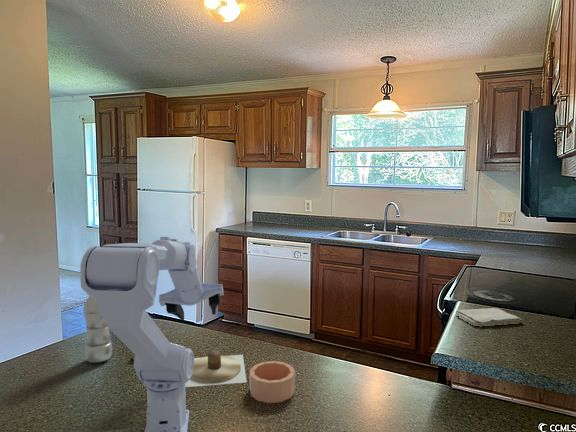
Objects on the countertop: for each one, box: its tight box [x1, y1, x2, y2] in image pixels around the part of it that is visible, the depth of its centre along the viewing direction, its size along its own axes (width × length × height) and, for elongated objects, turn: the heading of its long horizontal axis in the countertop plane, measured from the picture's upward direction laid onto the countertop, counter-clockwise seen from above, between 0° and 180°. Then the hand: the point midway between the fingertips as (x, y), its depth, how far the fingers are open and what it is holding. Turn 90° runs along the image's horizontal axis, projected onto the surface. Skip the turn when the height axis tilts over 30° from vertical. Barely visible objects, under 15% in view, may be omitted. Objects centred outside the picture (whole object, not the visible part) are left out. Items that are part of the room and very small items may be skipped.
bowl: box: [249, 360, 296, 404], centre depth 95 cm, size 10×10×5 cm
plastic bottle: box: [83, 295, 113, 364], centre depth 110 cm, size 6×7×20 cm
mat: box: [185, 354, 247, 388], centre depth 105 cm, size 15×15×1 cm
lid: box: [191, 350, 241, 383], centre depth 105 cm, size 13×13×4 cm
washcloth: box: [456, 307, 523, 323], centre depth 143 cm, size 12×18×3 cm, turn 103°
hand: (198, 313), depth 104 cm, fingers open, 7 cm apart
